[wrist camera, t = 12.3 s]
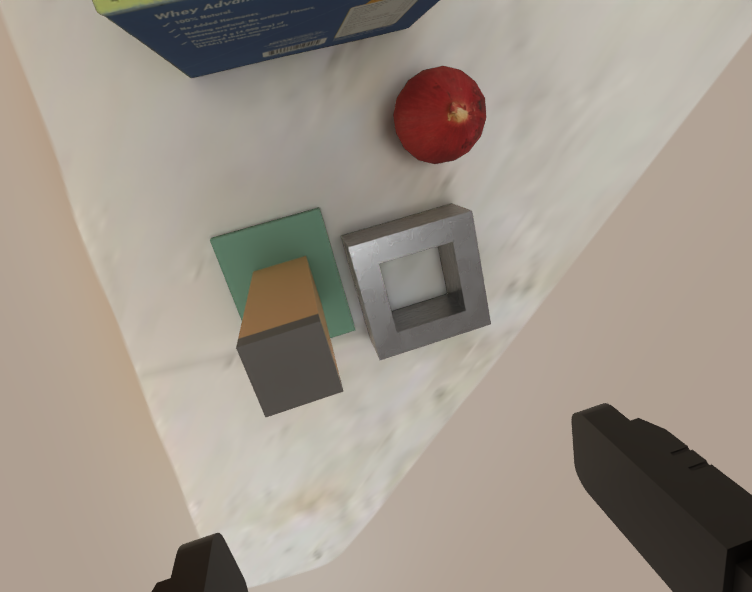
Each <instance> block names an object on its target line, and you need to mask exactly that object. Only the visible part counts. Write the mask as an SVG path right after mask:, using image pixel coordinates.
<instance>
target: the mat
mask: <svg viewBox="0 0 752 592" xmlns="http://www.w3.org/2000/svg"><path fill="white" fill-rule="evenodd" d="M210 242H211V244H212V247H213V249H214V252H215V254H216V257H217V259H218V262H219V264H220V267H221V269H222V272H223V274H224V277H225V279H226V282H227V284H228V287H229V290H230V292H231V295H232V297H233V300H234V302H235V305H236V307H237V310H238V312H239V315H240V317H241V320H243V315H244V311H245V306H246V302H247V297H248V293H249V288H250V284H251V279H252V275H253V272H254V271H257V270H260V269H264V268H267V267H270V266H274V265H277V264H280V263H284V262H287V261H290V260H293V259H297V258H300V257H303V256H306V257H307V260H308V263H309V267H310V270H311V273H312V276H313V279H314V282H315V285H316V288H317V291H318V294H319V297H320V300H321V303H322V307H323V311H324V315H325V319H326V323H327V327H328V331H329V335H330V338H332V337H335V336H339V335H342V334H345V333H348V332H351V331H354V330H355V327H354V323H353V320H352V317H351V313H350V310H349V307H348V303H347V300H346V296H345V293H344V290H343V286H342V283H341V279H340V276H339V273H338V269H337V266H336V262H335V259H334V256H333V252H332V249H331V246H330V242H329V239H328V235H327V232H326V229H325V225H324V222H323V218H322V215H321V212H320V209H319V208H315V209H312V210H308V211H305V212H301V213H298V214H294V215H291V216H287V217H284V218H280V219H277V220H273V221H269V222H266V223H262V224H259V225H255V226H252V227H248V228H245V229H241V230H238V231H234V232H231V233H227V234H224V235H220V236H217V237H213V238H211V239H210Z"/></svg>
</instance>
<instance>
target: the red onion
mask: <svg viewBox="0 0 752 592" xmlns="http://www.w3.org/2000/svg"><path fill="white" fill-rule="evenodd" d="M393 116H394V123H395V130H396V134H397V136H398V137H399V139H400V141H401V143H402V145H403V147H404V148H405V149H406V150H407V151H408V152H409V153H411V154H412V155H413V156H414V157H415V158H416V159H418V160H420V161H424V162H428V163H432V164H438V163H443V162H449V161H454V160H456V159H458V158H459V157H461V156H463V155H464V154H466V153H468V152H469V151H470V150H471V148H472V147H473V146H474V144H475V143H476V142H477V141H478V139H479V138H480V137H481V134H482V131H483V127H484V124H485V121H486V106H485V97H484V95H483V94H482V92H481V90H480V89H479V87H478V85H477V84H476V82H475V81H474V80H473V79H472V78H470V77H469V76H468V75H467V74H465V73H464V72H463V71H461V70H459V69H454V68H450V67H446V66H440V67H436V68H431V69H427V70H423V71H421V72H420V73H418V74H417V75H415V76H414V77H412V78H411V79H409V80H408V82H407V83H406V85H405V86H404V88H403V89H402V91H401V92H400V94H399V95H398V97H397V99H396V104H395V109H394V114H393Z"/></svg>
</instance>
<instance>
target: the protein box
mask: <svg viewBox="0 0 752 592" xmlns="http://www.w3.org/2000/svg"><path fill="white" fill-rule="evenodd" d="M92 1H93V4H94V6H95V8H96V11H97V12H98V13H99V14H100V15H103V16H105V17H107V18H108V19H109V20H111V21H112V22H113V23H115V24H116V25H118V26H119V27H121V28H122V29H123V30H125V31H126V32H127V33H129V34H130V35H132V36H133V37H135V38H136V39H138V40H139V41H140V42H142V43H143V44H145V45H146V46H147V47H149V48H150V49H151V50H153V51H154V52H156V53H157V54H159V55H160V56H161V57H163V58H164V59H165V60H167V61H168V62H170V63H171V64H172V65H174V66H175V67H176V68H178V69H179V70H181V71H182V72H183V73H184V74H186V75H187V76H188V77H190V78H194V77H198V76H203V75H207V74H211V73H215V72H219V71H224V70H228V69H232V68H236V67H241V66H245V65H249V64H253V63H257V62H262V61H266V60H270V59H275V58H279V57H283V56H288V55H292V54H297V53H301V52H306V51H310V50H315V49H319V48H324V47H329V46H333V45H338V44H342V43H347V42H351V41H356V40H360V39H364V38H369V37H373V36H377V35H382V34H386V33H390V32H394V31H398V30H402V29H406V28H409V27H410V26H411V25H412V24H413V23H414V22H415V21H417V20H418V19H419V18H420V17H421V16H422V15H424V14H425V13H426V12H427V11H428V10H429V9H430V8H432V7H433V6H434V5H435V4H436V3H437V2H438V1H440V0H92Z"/></svg>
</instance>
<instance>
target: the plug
mask: <svg viewBox="0 0 752 592" xmlns="http://www.w3.org/2000/svg"><path fill="white" fill-rule="evenodd" d="M236 349H237V351H238V353H239V356H240V358H241V360H242V363H243V365H244V368H245V370H246V372H247V375H248V377H249V379H250V382H251V384H252V386H253V389H254V391H255V394H256V396H257V398H258V401H259V403H260V405H261V408H262V410H263V413H264V415H265V417H269V416H272V415H275V414H278V413H280V412H283V411H286V410H289V409H292V408H295V407H298V406H301V405H304V404H307V403H310V402H313V401H316V400H319V399H322V398H325V397H328V396H331V395H334V394H337V393H340V392H343V388H342V384H341V380H340V376H339V372H338V368H337V364H336V360H335V356H334V352H333V348H332V343H331V339H330V335H329V331H328V327H327V323H326V319H325V315H324V311H323V307H322V303H321V300H320V297H319V294H318V291H317V288H316V285H315V282H314V279H313V276H312V273H311V270H310V267H309V263H308V260H307V257H306V256H303V257H300V258H297V259H293V260H290V261H287V262H284V263H280V264H277V265H274V266H270V267H267V268H264V269H260V270H257V271H254V272H253V275H252V279H251V284H250V288H249V293H248V297H247V302H246V306H245V311H244V315H243V320H242V324H241V329H240V333H239V338H238V342H237V347H236Z"/></svg>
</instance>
